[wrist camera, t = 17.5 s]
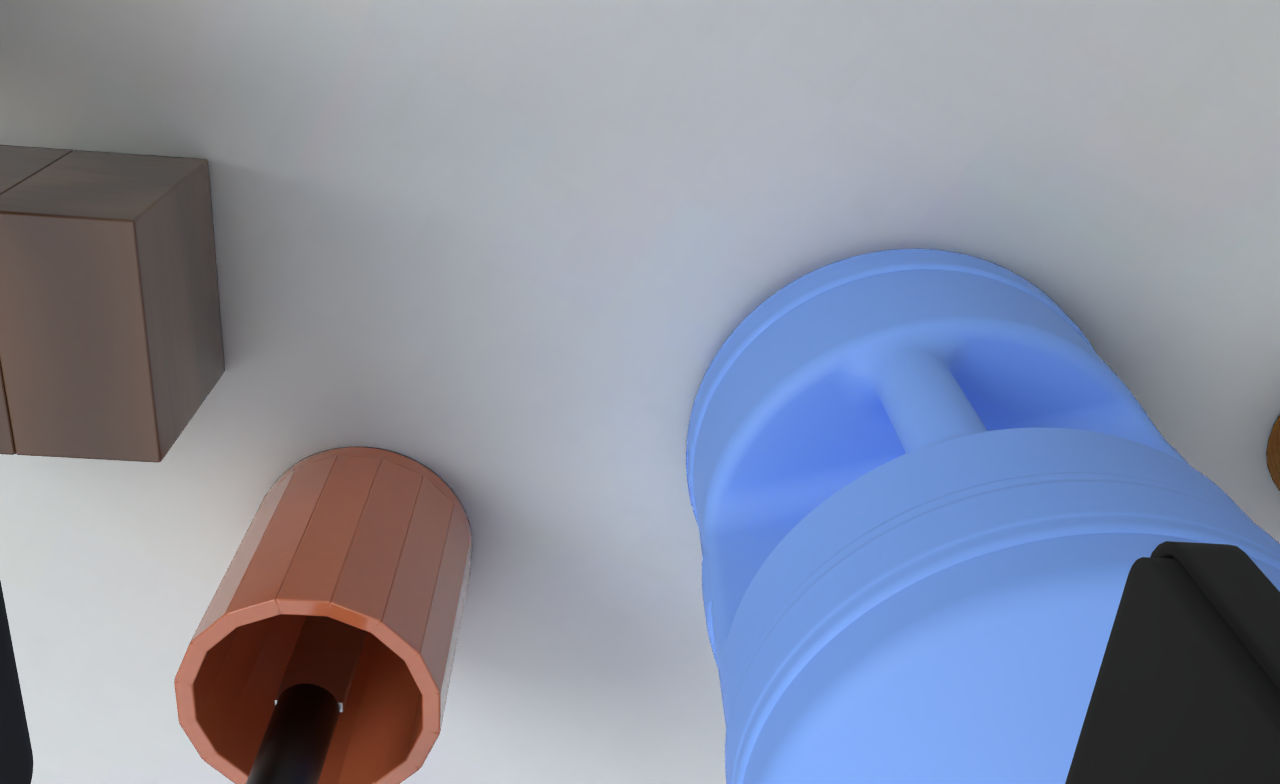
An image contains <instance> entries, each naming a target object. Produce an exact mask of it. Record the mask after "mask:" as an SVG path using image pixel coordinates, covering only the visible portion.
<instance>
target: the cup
mask: <svg viewBox="0 0 1280 784" xmlns="http://www.w3.org/2000/svg"><path fill="white" fill-rule="evenodd" d="M471 554H472V534H471V529H470V524H469V521H468V518H467V515H466V513H465V510H464V508H463V507H462V505H461V503H460V501H459V499H458V498H457V497H456V495H455V494H454V493H453V491H452V490H451V489H450V488H449V486H448V485H447V484H446V483H445V482H444V481H443V480H442V479H441V478H439V477H438V476H437V475H436V474H435V473H433V472H432V471H431V470H429V469H428V468H426V467H425V466H423V465H421V464H420V463H418V462H416V461H414V460H412V459H410V458H408V457H406V456H403V455H400V454H397V453H394V452H391V451H386V450H382V449H377V448H368V447H345V448H337V449H332V450H328V451H324V452H320V453H318V454H315V455H312V456H310V457H307V458H306V459H304V460H302V461H300V462H298V463H296V464H295V465H294V466H292V467H291V468H290V469H288V470H287V471H286V472H285V473H284V474H283V475H282V476H281V477H280V478H279V479H278V480H277V481H276V482H275V484H274V485H273V486H272V488H271V489H270V491H269V492H268V493H267V494H266V496H265V498H264V499H263V501H262V503H261V505H260V507H259V509H258V511H257V513H256V515H255V517H254V519H253V521H252V523H251V525H250V527H249V529H248V531H247V533H246V535H245V536H244V538H243V540H242V542H241V544H240V546H239V548H238V550H237V552H236V554H235V556H234V558H233V560H232V562H231V564H230V566H229V568H228V570H227V572H226V574H225V575H224V577H223V579H222V581H221V583H220V585H219V587H218V589H217V591H216V593H215V595H214V597H213V599H212V601H211V603H210V605H209V607H208V609H207V611H206V612H205V614H204V616H203V618H202V620H201V622H200V624H199V626H198V628H197V630H196V632H195V634H194V636H193V638H192V640H191V642H190V644H189V646H188V648H187V651H186V653H185V656H184V658H183V660H182V663H181V665H180V667H179V670H178V672H177V674H176V677H175V682H174V683H175V692H176V701H177V709H178V718H179V723H180V725H181V727H182V728H183V730H184V731H185V733H186V735H187V736H188V738H189V739H190V741H191V742H192V744H193V745H194V747H195V749H196V750H197V752H198V753H199V755H200V756H201V758H202V759H204V761H205V762H206V763H208V764H209V765H211V766H212V767H213V768H215V769H216V770H217V771H219V772H220V773H221V774H223V775H224V776H225V777H227V778H228V779H230V780H231V781H232V782H234V783H235V784H246V782H247V779H248V777H249V774H250V771H251V769H252V766H253V763H254V761H255V758H256V756H257V753H258V750H259V748H260V745H261V742H262V740H263V737H264V734H265V732H266V729H267V727H268V724H269V721H270V719H271V716H272V713H273V711H274V708H275V704H274V700H275V697H276V695H277V692H278V690H279V687H280V684H281V682H282V679H283V676H284V674H285V671H286V669H287V666H288V663H289V661H290V658H291V656H292V653H293V650H294V648H295V645H296V643H297V640H298V637H299V635H300V632H301V629H302V627H303V624H304V622H305V619H306V616H327V617H330V618H333V619H335V620H338V621H341V622H343V623H346V624H348V625H351V626H354V627H356V628H359V629H362V630H364V631H367V634H366V638H365V641H364V644H363V648H362V651H361V654H360V658H359V661H358V664H357V668H356V671H355V674H354V678H353V681H352V684H351V688H350V691H349V694H348V698H347V701H346V704H345V708H344V711H343V712H339V716H338V720H337V723H336V726H335V730H334V733H333V736H332V739H331V743H330V746H329V749H328V753H327V756H326V759H325V762H324V766H323V769H322V772H321V776H320V779H319V782H318V784H400V783H401V782H402V781H404V780H405V779H407V778H408V777H409V776H411V775H412V774H414V773H415V772H416V771H418V770H419V769H420V768H421V767H422V765H423V763H424V761H425V760H426V758H427V756H428V754H429V752H430V751H431V749H432V747H433V745H434V743H435V742H436V740H437V738H438V736H439V734H440V731H441V726H442V720H443V715H444V710H445V704H446V699H447V693H448V688H449V683H450V677H451V672H452V667H453V661H454V656H455V650H456V645H457V640H458V634H459V629H460V624H461V618H462V613H463V607H464V602H465V597H466V591H467V586H468V581H469V575H470V561H471Z"/></svg>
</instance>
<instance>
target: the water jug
mask: <svg viewBox="0 0 1280 784" xmlns="http://www.w3.org/2000/svg"><path fill="white" fill-rule="evenodd" d="M686 461H687V462H686V470H687V480H688V488H689V494H690V500H691V505H692V506H693V512H694V515H695V518H696V521H697V523H698V526H699V532H700V540H701V547H702V555H703V561H702V590H703V599H704V607H705V615H706V623H707V629H708V635H709V639H710V643H711V647H712V651H713V654H714V658H715V661H716V664H717V666H718V670H719V678H720V685H721V693H722V700H723V708H724V715H725V723H726V741H725V768H726V782H727V784H1065V782H1066V779H1067V776H1068V772H1069V769H1070V766H1071V763H1072V759H1073V756H1074V753H1075V749H1076V746H1077V743H1078V739H1079V736H1080V733H1081V729H1082V726H1083V723H1084V719H1085V716H1086V713H1087V710H1088V706H1089V703H1090V700H1091V696H1092V693H1093V690H1094V686H1095V683H1096V680H1097V676H1098V673H1099V670H1100V666H1101V663H1102V660H1103V657H1104V653H1105V650H1106V647H1107V643H1108V640H1109V637H1110V633H1111V630H1112V627H1113V623H1114V620H1115V617H1116V613H1117V610H1118V607H1119V604H1120V600H1121V597H1122V594H1123V590H1124V587H1125V584H1126V580H1127V577H1128V574H1129V571H1130V569H1131V567H1132V565H1133V564H1134V562H1135V561H1136V560H1137V559H1139V558H1142V557H1150V556H1151V554H1152V552H1153V551H1154V550H1155V548H1156V547H1157V546H1158V545H1159V544H1161V543H1163V542H1166V541H1173V542H1192V543H1211V544H1229V545H1234V546H1238V547H1239V548H1240V549H1241V550H1243V551H1244V552H1245V553H1246V554H1247V555H1248V556H1249V557H1250V559H1251V560H1252V561H1253V562H1254V563H1255V564H1256V565H1257V567H1258V568H1259V569H1260V570H1261V571H1262V572H1263V573H1264V574H1265V576H1266V577H1267V578H1268V579H1269V580H1270V581H1271V582H1272V584H1273V585H1274V586H1275V587H1276V588H1277V589H1278V590H1279V592H1280V544H1279V543H1278V542H1277V541H1276V540H1274V539H1273V538H1272V537H1271V536H1270V535H1269V534H1267V533H1266V532H1265V531H1264V530H1262V529H1261V528H1260V527H1258V526H1257V525H1256V524H1254V523H1253V522H1252V521H1251V520H1250V519H1249V518H1248V516H1247V515H1246V514H1245V513H1244V512H1243V511H1242V510H1241V509H1240V508H1239V507H1238V506H1237V505H1236V503H1235V502H1234V501H1233V500H1232V499H1231V498H1230V497H1229V496H1228V495H1227V494H1226V493H1225V492H1224V491H1223V490H1221V489H1220V488H1219V487H1218V486H1217V485H1216V484H1215V483H1213V482H1212V481H1211V480H1209V479H1208V478H1207V477H1206V476H1204V475H1203V474H1201V473H1200V472H1198V471H1197V470H1195V469H1194V468H1192V467H1191V466H1190V465H1189V464H1188V463H1187V462H1186V461H1185V460H1184V459H1183V457H1182V456H1181V455H1180V454H1179V453H1178V452H1177V451H1176V450H1175V449H1174V448H1173V447H1172V446H1170V445H1169V444H1168V443H1167V441H1166V440H1165V439H1164V438H1163V437H1162V435H1161V434H1160V433H1159V431H1158V430H1157V428H1156V427H1155V426H1154V424H1153V423H1152V421H1151V420H1150V418H1149V417H1148V415H1147V414H1146V413H1145V411H1144V410H1143V408H1142V407H1141V405H1140V404H1139V403H1138V401H1137V400H1136V398H1135V397H1134V396H1133V394H1132V393H1131V392H1130V391H1129V389H1128V388H1127V387H1126V386H1125V384H1124V383H1123V382H1122V381H1121V380H1120V379H1119V377H1118V376H1117V375H1116V374H1115V373H1114V372H1113V371H1112V370H1111V369H1110V368H1109V367H1108V366H1107V365H1106V363H1105V362H1104V361H1103V360H1102V359H1101V358H1100V357H1099V356H1098V355H1097V354H1096V352H1095V351H1094V349H1093V347H1092V346H1091V344H1090V343H1089V341H1088V340H1087V338H1086V337H1085V336H1084V334H1083V333H1082V332H1081V330H1080V329H1079V328H1078V327H1077V326H1076V325H1075V323H1074V322H1073V321H1072V320H1071V319H1070V318H1069V317H1068V316H1067V315H1066V314H1065V313H1064V312H1063V311H1062V310H1061V309H1060V308H1059V306H1058V305H1057V304H1056V303H1055V302H1053V301H1052V300H1051V299H1050V298H1049V297H1048V296H1047V295H1046V294H1044V293H1043V292H1042V291H1041V290H1039V289H1038V288H1037V287H1035V286H1034V285H1033V284H1031V283H1030V282H1028V281H1027V280H1025V279H1023V278H1022V277H1020V276H1018V275H1017V274H1015V273H1013V272H1011V271H1009V270H1007V269H1005V268H1003V267H1001V266H998V265H996V264H993V263H991V262H988V261H985V260H982V259H979V258H976V257H972V256H969V255H965V254H960V253H955V252H949V251H942V250H933V249H895V250H885V251H878V252H872V253H867V254H862V255H858V256H854V257H850V258H847V259H843V260H840V261H837V262H834V263H832V264H829V265H826V266H824V267H821V268H819V269H817V270H815V271H812V272H810V273H808V274H806V275H804V276H802V277H800V278H799V279H797V280H795V281H793V282H792V283H790V284H788V285H787V286H785V287H784V288H782V289H780V290H779V291H778V292H776V293H775V294H773V295H772V296H771V297H769V298H768V299H767V300H765V301H764V302H763V303H762V304H760V305H759V306H758V307H757V308H756V309H755V310H754V311H753V312H751V313H750V314H749V315H748V316H747V317H746V318H745V319H744V320H743V321H742V322H741V323H740V324H739V326H738V327H737V328H736V329H735V330H734V331H733V332H732V334H731V335H730V336H729V337H728V339H727V340H726V341H725V343H724V344H723V345H722V347H721V348H720V350H719V351H718V353H717V354H716V356H715V358H714V359H713V361H712V363H711V364H710V366H709V368H708V370H707V372H706V374H705V376H704V378H703V380H702V383H701V385H700V387H699V390H698V393H697V395H696V398H695V402H694V405H693V409H692V413H691V417H690V422H689V428H688V436H687V451H686Z"/></svg>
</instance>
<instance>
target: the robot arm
mask: <svg viewBox="0 0 1280 784" xmlns="http://www.w3.org/2000/svg"><path fill="white" fill-rule="evenodd" d="M32 773H33V755H32V749H31V743H30V738H29V732H28V727H27V722H26V716H25V711H24V706H23V700H22V695H21V689H20V684H19V679H18V673H17V668H16V662H15V657H14V652H13V646H12V641H11V635H10V630H9V625H8V619H7V614H6V609H5V603H4V598H3V592H2V587H1V582H0V784H31V779H32ZM1065 784H1280V592H1279V590H1278V589H1277V588H1276V587H1275V586H1274V585H1273V584H1272V582H1271V581H1270V580H1269V579H1268V578H1267V577H1266V576H1265V574H1264V573H1263V572H1262V571H1261V570H1260V569H1259V568H1258V567H1257V565H1256V564H1255V563H1254V562H1253V561H1252V560H1251V559H1250V557H1249V556H1248V555H1247V554H1246V553H1245V552H1244V551H1243V550H1241V549H1240V548H1239V547H1238V546H1234V545H1229V544H1211V543H1192V542H1173V541H1166V542H1163V543H1161V544H1159V545H1158V546H1157V547H1156V548H1155V550H1154V551H1153V552H1152V554H1151V556H1150V557H1142V558H1139V559H1137V560H1136V561H1135V562H1134V564H1133V565H1132V567H1131V569H1130V571H1129V574H1128V577H1127V580H1126V584H1125V587H1124V590H1123V594H1122V597H1121V600H1120V604H1119V607H1118V610H1117V613H1116V617H1115V620H1114V623H1113V627H1112V630H1111V633H1110V637H1109V640H1108V643H1107V647H1106V650H1105V653H1104V657H1103V660H1102V663H1101V666H1100V670H1099V673H1098V676H1097V680H1096V683H1095V686H1094V690H1093V693H1092V696H1091V700H1090V703H1089V706H1088V710H1087V713H1086V716H1085V719H1084V723H1083V726H1082V729H1081V733H1080V736H1079V739H1078V743H1077V746H1076V749H1075V753H1074V756H1073V759H1072V763H1071V766H1070V769H1069V772H1068V776H1067V779H1066V782H1065Z"/></svg>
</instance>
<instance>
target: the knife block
mask: <svg viewBox="0 0 1280 784" xmlns="http://www.w3.org/2000/svg"><path fill="white" fill-rule="evenodd" d="M224 371H225V368H224V356H223V344H222V331H221V319H220V307H219V294H218V282H217V270H216V257H215V245H214V233H213V220H212V208H211V196H210V183H209V171H208V161H207V160H206V159H194V158H179V157H164V156H149V155H135V154H120V153H105V152H91V151H76V150H75V151H73V150H65V149H51V148H36V147H21V146H7V145H0V454H11V455H13V454H18V455H31V456H50V457H68V458H87V459H105V460H123V461H142V462H161V461H162V460H163V458H164V457H165V455H166V454H167V452H168V451H169V450H170V448H171V447H172V445H173V444H174V443H175V441H176V440H177V438H178V437H179V435H180V434H181V433H182V431H183V430H184V428H185V427H186V426H187V424H188V423H189V421H190V420H191V418H192V417H193V416H194V414H195V413H196V411H197V410H198V409H199V407H200V406H201V404H202V403H203V401H204V400H205V399H206V397H207V396H208V394H209V393H210V391H211V390H212V389H213V387H214V386H215V384H216V383H217V382H218V380H219V379H220V377H221V376H222V374H223V373H224Z"/></svg>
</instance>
